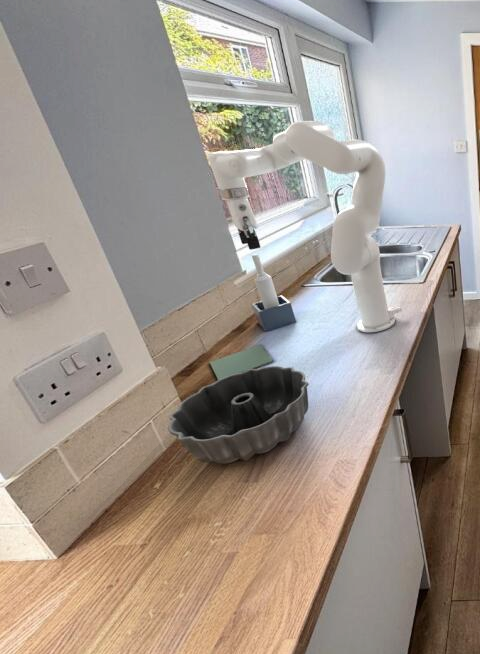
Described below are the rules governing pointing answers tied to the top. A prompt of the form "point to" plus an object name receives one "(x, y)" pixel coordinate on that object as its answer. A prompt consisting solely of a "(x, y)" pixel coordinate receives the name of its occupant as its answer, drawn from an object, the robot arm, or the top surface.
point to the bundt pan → (241, 414)
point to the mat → (240, 362)
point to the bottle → (264, 285)
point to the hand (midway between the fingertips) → (251, 245)
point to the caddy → (274, 314)
